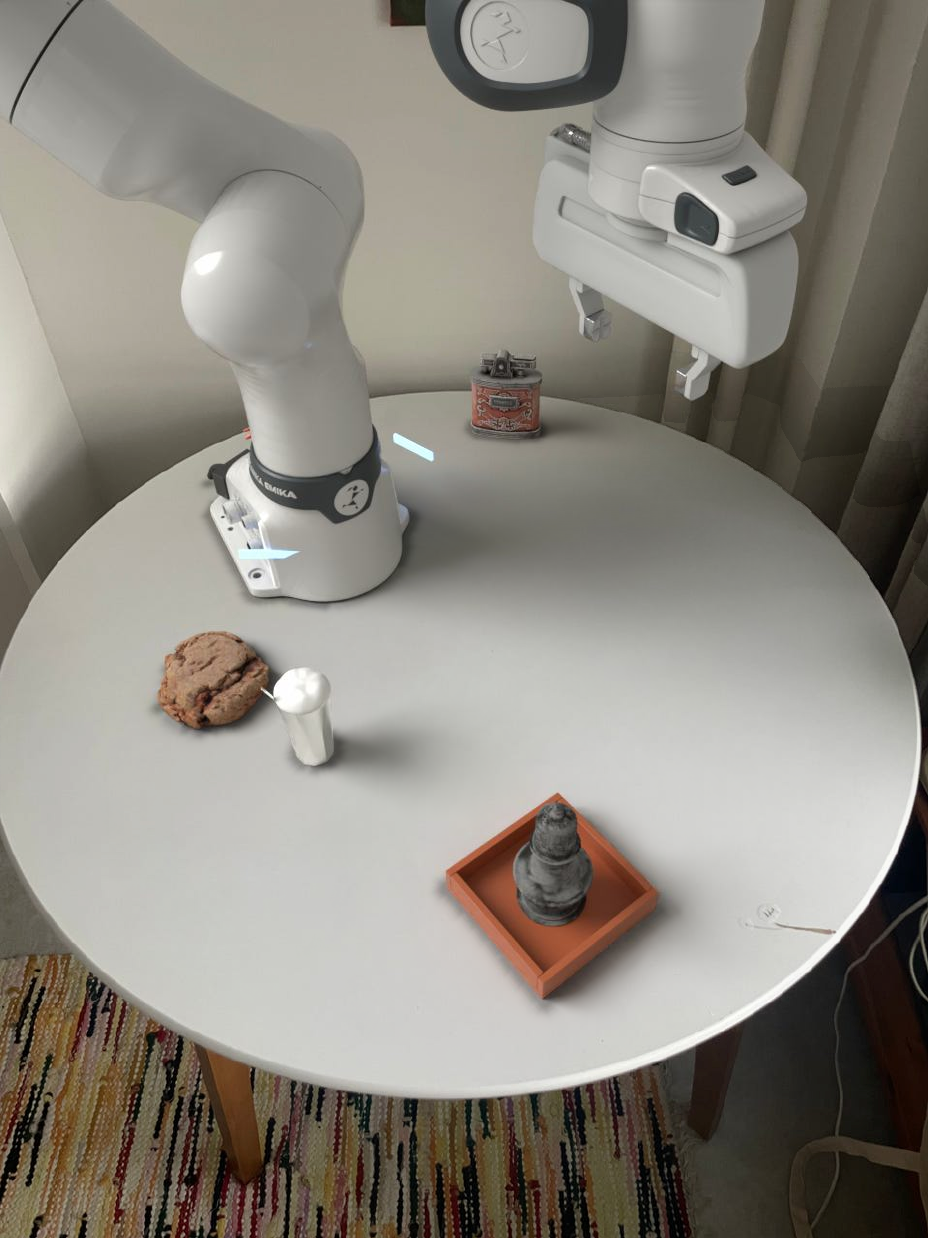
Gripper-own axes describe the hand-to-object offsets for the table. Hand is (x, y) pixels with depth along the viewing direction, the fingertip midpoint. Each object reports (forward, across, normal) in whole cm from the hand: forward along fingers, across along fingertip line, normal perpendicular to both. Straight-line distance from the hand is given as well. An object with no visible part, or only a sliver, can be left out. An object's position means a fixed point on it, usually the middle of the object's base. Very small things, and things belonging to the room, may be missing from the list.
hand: (640, 363), depth 72 cm
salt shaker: (+31, +15, -20) cm, 40 cm away
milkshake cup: (+31, -8, -27) cm, 42 cm away
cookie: (+31, -20, -30) cm, 48 cm away
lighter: (+31, -33, +15) cm, 48 cm away
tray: (+31, +15, -20) cm, 40 cm away
